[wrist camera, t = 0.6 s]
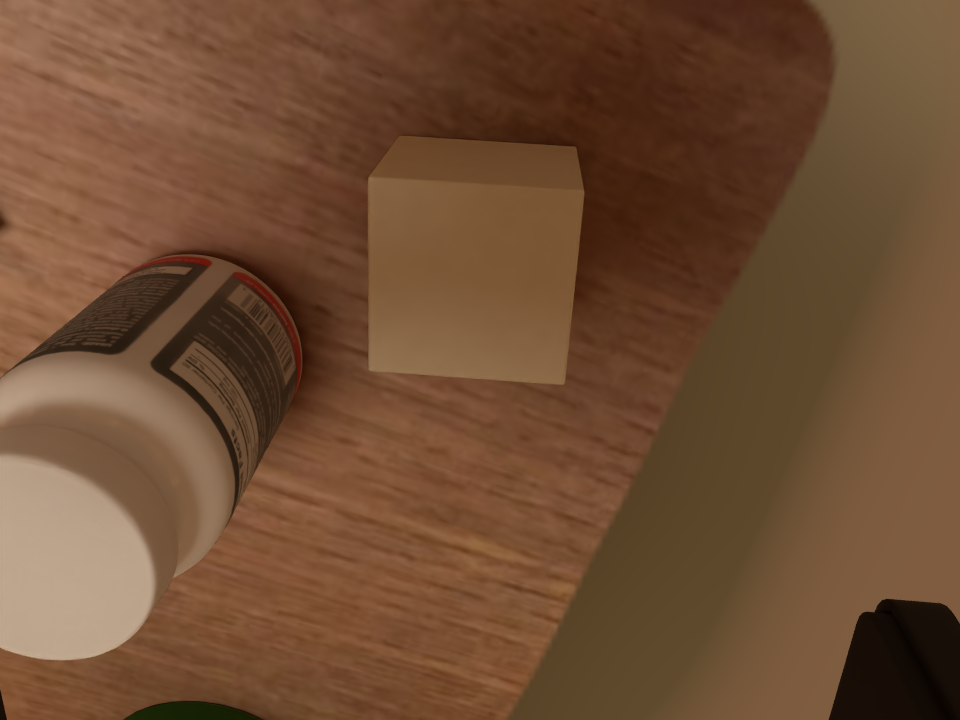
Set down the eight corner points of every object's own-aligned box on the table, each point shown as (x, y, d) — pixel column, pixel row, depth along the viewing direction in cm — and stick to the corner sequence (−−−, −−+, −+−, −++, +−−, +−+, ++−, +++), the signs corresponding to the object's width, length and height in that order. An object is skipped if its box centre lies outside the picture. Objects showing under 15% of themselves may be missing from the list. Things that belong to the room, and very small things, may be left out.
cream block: (398, 135, 22) (367, 176, 18) (576, 146, 22) (585, 190, 18) (396, 300, 24) (367, 371, 20) (560, 312, 24) (564, 386, 20)
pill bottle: (97, 398, 26) (-133, 634, 17) (122, 221, 24) (-132, 387, 15) (286, 454, 27) (156, 712, 18) (328, 285, 24) (203, 484, 15)
